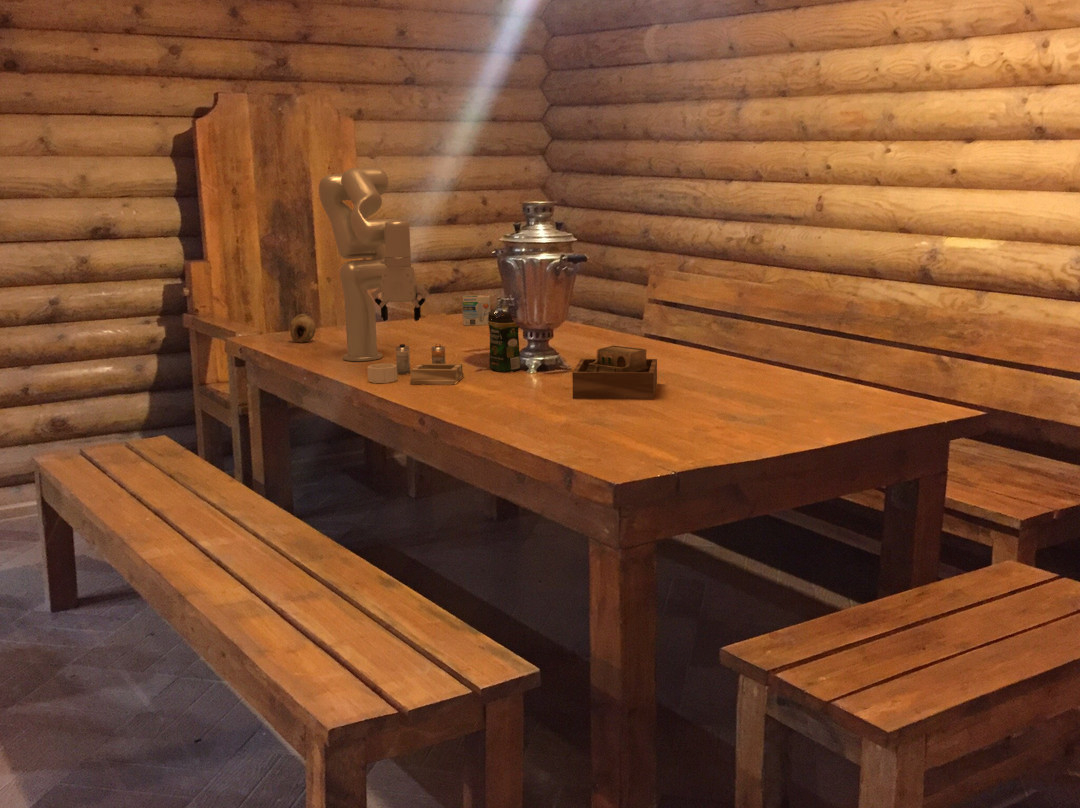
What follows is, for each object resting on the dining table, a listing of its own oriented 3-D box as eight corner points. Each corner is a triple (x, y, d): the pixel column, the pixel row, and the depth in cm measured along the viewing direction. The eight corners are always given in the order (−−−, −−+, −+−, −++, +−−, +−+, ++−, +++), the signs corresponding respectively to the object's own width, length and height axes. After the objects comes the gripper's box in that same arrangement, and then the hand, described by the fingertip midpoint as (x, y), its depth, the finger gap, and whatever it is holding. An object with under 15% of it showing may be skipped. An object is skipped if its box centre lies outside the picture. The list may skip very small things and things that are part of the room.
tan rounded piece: (288, 341, 411) (286, 313, 409) (312, 339, 414) (310, 311, 412) (295, 345, 403) (293, 316, 400) (319, 342, 406) (317, 314, 404)
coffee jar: (485, 369, 351) (483, 308, 347) (506, 366, 355) (504, 306, 351) (503, 373, 343) (501, 311, 339) (525, 370, 348) (523, 309, 344)
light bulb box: (463, 325, 437) (462, 297, 435) (462, 323, 444) (461, 295, 442) (491, 325, 438) (490, 296, 436) (490, 322, 445) (489, 294, 442)
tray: (420, 376, 342) (419, 363, 341) (463, 376, 340) (462, 363, 339) (410, 384, 331) (409, 370, 330) (454, 384, 329) (454, 371, 328)
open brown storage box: (581, 382, 327) (580, 358, 326) (656, 383, 324) (656, 359, 323) (572, 398, 308) (572, 372, 306) (653, 399, 305) (653, 373, 303)
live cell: (434, 371, 349) (432, 343, 347) (447, 372, 348) (446, 343, 346) (430, 374, 345) (429, 345, 343) (444, 374, 344) (443, 345, 342)
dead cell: (398, 371, 350) (397, 343, 348) (411, 371, 350) (410, 343, 348) (395, 374, 346) (393, 345, 344) (408, 374, 346) (407, 345, 344)
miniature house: (610, 383, 327) (610, 343, 324) (651, 389, 318) (651, 348, 315) (577, 392, 316) (577, 351, 313) (619, 398, 307) (619, 356, 304)
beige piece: (373, 378, 341) (372, 363, 340) (399, 378, 340) (399, 363, 339) (365, 383, 334) (364, 368, 333) (392, 383, 332) (391, 368, 331)
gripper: (366, 264, 338) (369, 322, 342) (423, 263, 336) (426, 322, 339) (373, 262, 346) (376, 318, 349) (429, 261, 343) (432, 318, 347)
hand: (401, 320), depth 344 cm, fingers open, 9 cm apart
